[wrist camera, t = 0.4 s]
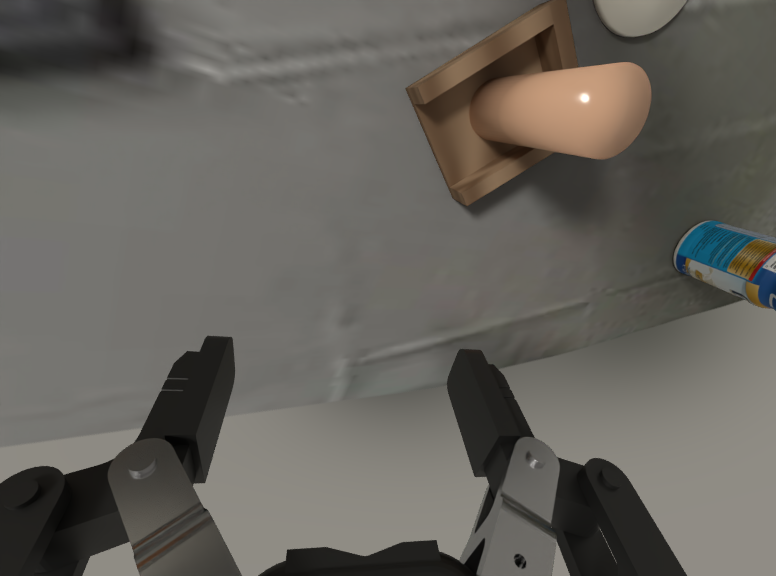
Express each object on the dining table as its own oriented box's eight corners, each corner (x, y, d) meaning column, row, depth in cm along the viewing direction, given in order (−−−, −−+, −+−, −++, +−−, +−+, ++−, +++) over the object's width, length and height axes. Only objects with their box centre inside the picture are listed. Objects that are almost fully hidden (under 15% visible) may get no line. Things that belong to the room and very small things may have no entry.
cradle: (452, 198, 40) (467, 206, 37) (405, 88, 34) (417, 86, 31) (565, 128, 39) (590, 130, 36) (538, 4, 33) (565, -6, 30)
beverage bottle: (727, 213, 51) (952, 268, 34) (709, 266, 55) (902, 339, 38) (678, 224, 50) (887, 287, 33) (663, 278, 54) (842, 359, 37)
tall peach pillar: (480, 150, 37) (583, 175, 25) (461, 96, 35) (566, 92, 22) (543, 111, 37) (681, 115, 24) (529, 54, 34) (677, 24, 22)
